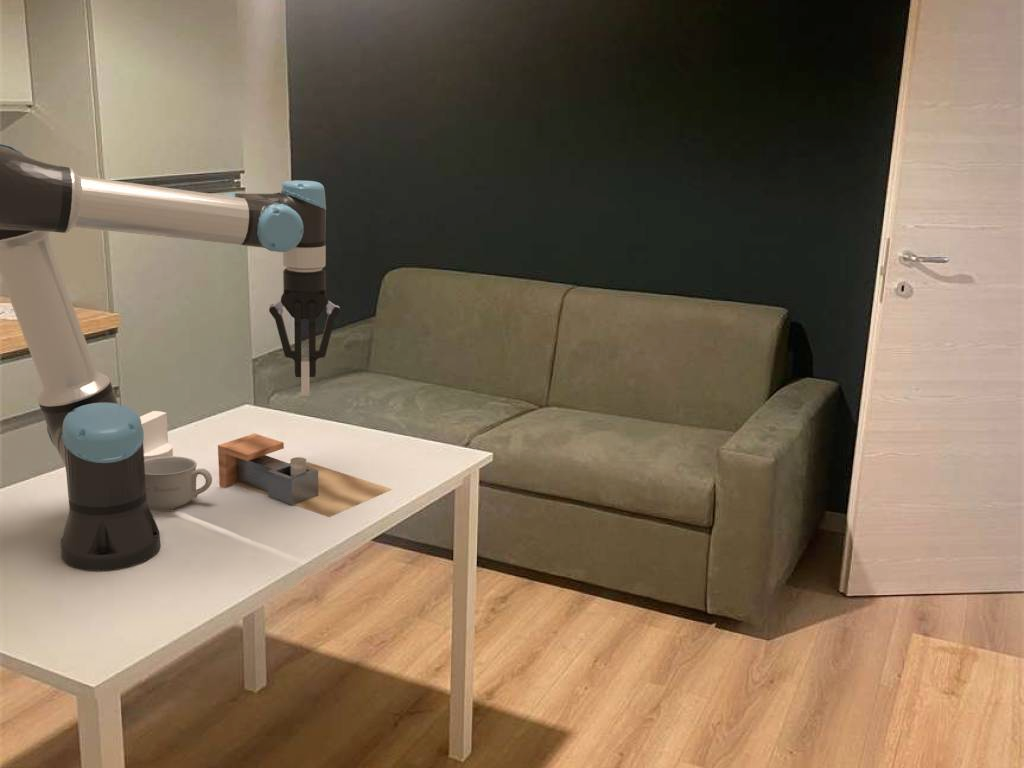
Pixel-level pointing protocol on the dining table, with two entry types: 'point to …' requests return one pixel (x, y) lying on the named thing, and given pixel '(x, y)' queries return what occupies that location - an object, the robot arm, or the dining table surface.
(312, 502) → the board
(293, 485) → the grey socket block
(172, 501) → the teacup
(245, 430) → the dining table surface
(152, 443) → the cylinder with rectangular tab
